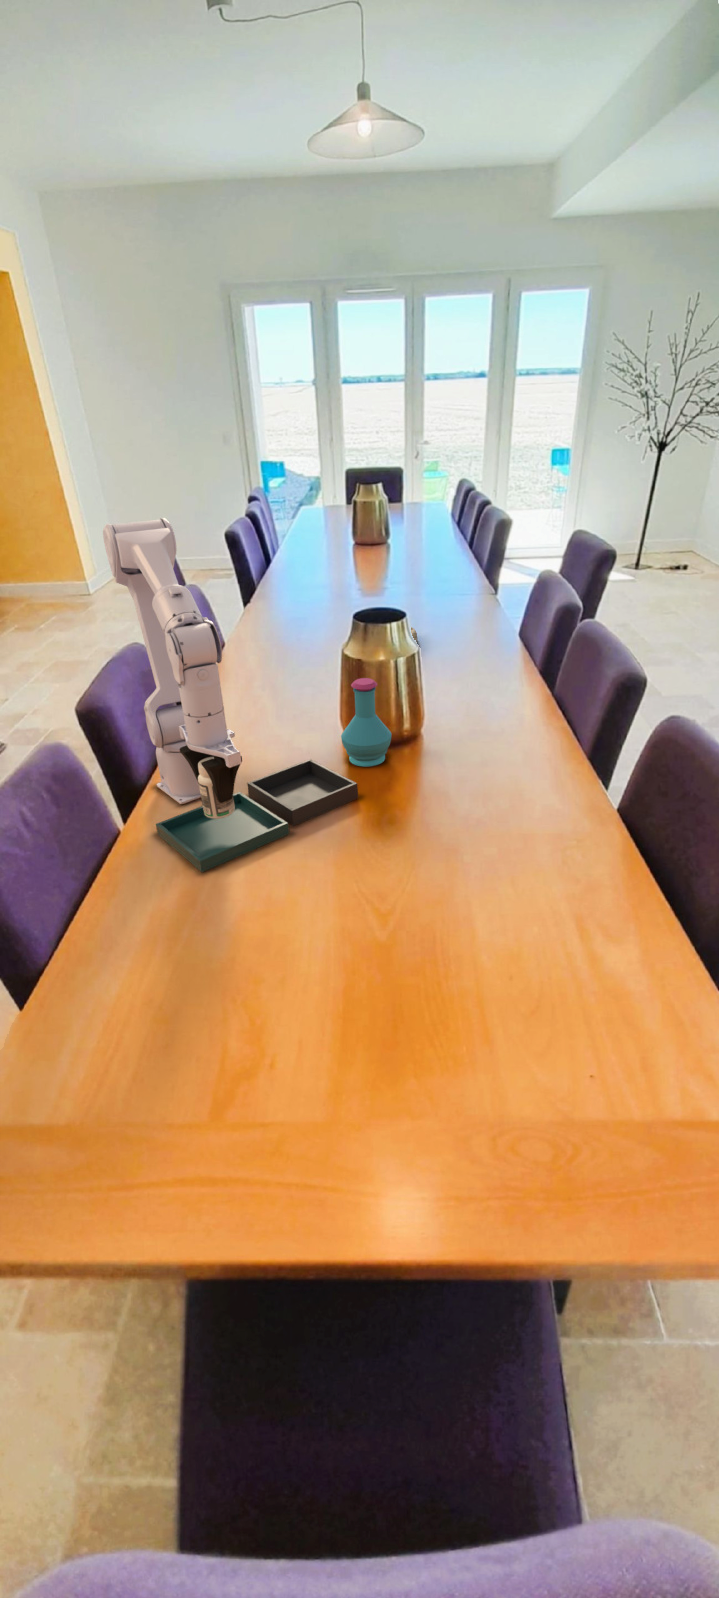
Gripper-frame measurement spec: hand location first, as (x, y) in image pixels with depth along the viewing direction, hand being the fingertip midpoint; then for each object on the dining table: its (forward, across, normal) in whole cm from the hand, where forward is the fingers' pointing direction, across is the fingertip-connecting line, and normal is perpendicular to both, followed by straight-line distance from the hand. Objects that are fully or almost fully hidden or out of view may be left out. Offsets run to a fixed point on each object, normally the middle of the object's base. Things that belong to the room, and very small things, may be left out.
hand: (216, 794), depth 108 cm
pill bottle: (+3, 0, 0) cm, 3 cm away
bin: (+7, +1, -16) cm, 18 cm away
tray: (+7, 0, 0) cm, 7 cm away
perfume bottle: (+7, +5, -34) cm, 35 cm away
